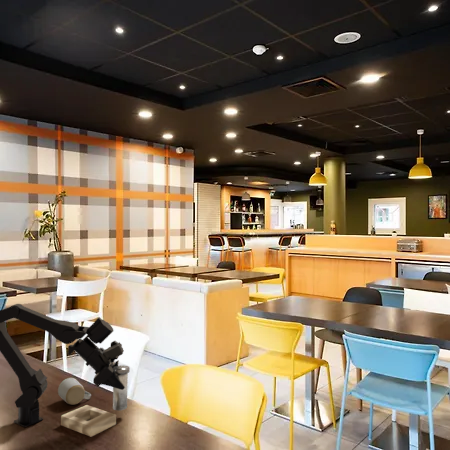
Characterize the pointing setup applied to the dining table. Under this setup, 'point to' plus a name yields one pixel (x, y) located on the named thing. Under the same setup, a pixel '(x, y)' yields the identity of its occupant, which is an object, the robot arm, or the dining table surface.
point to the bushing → (119, 394)
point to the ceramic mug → (72, 391)
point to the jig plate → (93, 426)
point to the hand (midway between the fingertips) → (124, 385)
